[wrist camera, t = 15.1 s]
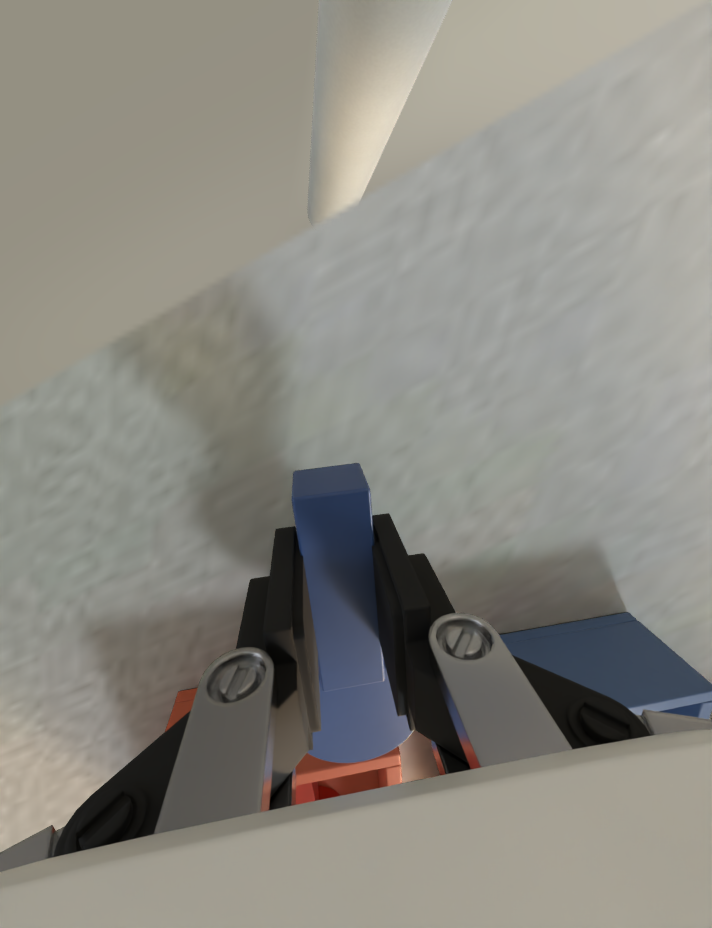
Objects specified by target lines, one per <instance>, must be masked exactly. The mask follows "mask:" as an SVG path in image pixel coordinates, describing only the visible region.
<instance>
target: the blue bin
mask: <svg viewBox="0 0 712 928" xmlns="http://www.w3.org/2000/svg"><path fill="white" fill-rule="evenodd" d="M499 636H500V637H501V639H502V640H503V642H504V644H505V645H506V647H507V648H508V650H509V651H510V653H511V654H512V655H514V656H516V657H518V658H520V659H523V660H525V661H527V662H530V663H532V664H534V665H537V666H539V667H541V668H544V669H546V670H548V671H550V672H553V673H555V674H557V675H560V676H562V677H564V678H567V679H569V680H571V681H574V682H576V683H578V684H580V685H583V686H585V687H587V688H590V689H592V690H594V691H597V692H599V693H601V694H603V695H606V696H608V697H610V698H612V699H614V700H616V701H617V702H619V703H621V704H623V705H624V706H625V707H627V708H628V709H629V710H630V711H632V712H633V713H634V714H635V715H641V716H642V712H643V709H645V710H652V711H658V712H665V713H671V714H678V715H684V716H691V717H698V718H704V719H709V718H710V715H711V712H712V684H711V683H710V682H709V681H708V680H706V679H705V678H704V677H703V676H702V675H701V674H699V673H698V672H697V671H696V670H695V669H694V668H692V667H691V666H690V665H689V664H688V663H687V662H685V661H684V660H683V659H682V658H681V657H680V656H679V655H677V654H676V653H675V652H674V651H673V650H672V649H670V648H669V647H668V646H667V645H666V644H665V643H663V642H662V641H661V640H660V639H659V638H658V637H656V636H655V635H654V634H653V633H652V632H651V631H649V630H648V629H647V628H646V627H645V626H644V625H643V624H641V623H640V622H639V621H637V620H636V618H634V617H633V616H632V615H631V614H630V613H628V612H626V613H621V614H615V615H609V616H604V617H598V618H592V619H587V620H581V621H575V622H570V623H564V624H558V625H553V626H547V627H541V628H536V629H530V630H524V631H519V632H513V633H507V634H502V635H499Z"/></svg>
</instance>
